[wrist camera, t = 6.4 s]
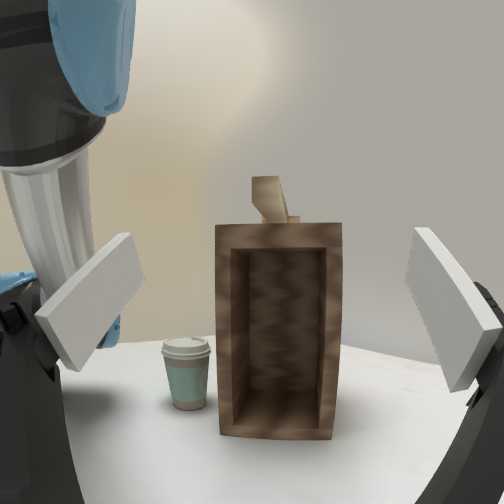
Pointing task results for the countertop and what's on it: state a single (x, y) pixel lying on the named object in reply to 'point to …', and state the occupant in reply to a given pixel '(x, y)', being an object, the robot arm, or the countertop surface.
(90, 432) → the countertop surface
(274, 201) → the beige long flat part
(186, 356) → the coffee cup
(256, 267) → the walnut shelf
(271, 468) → the countertop surface
